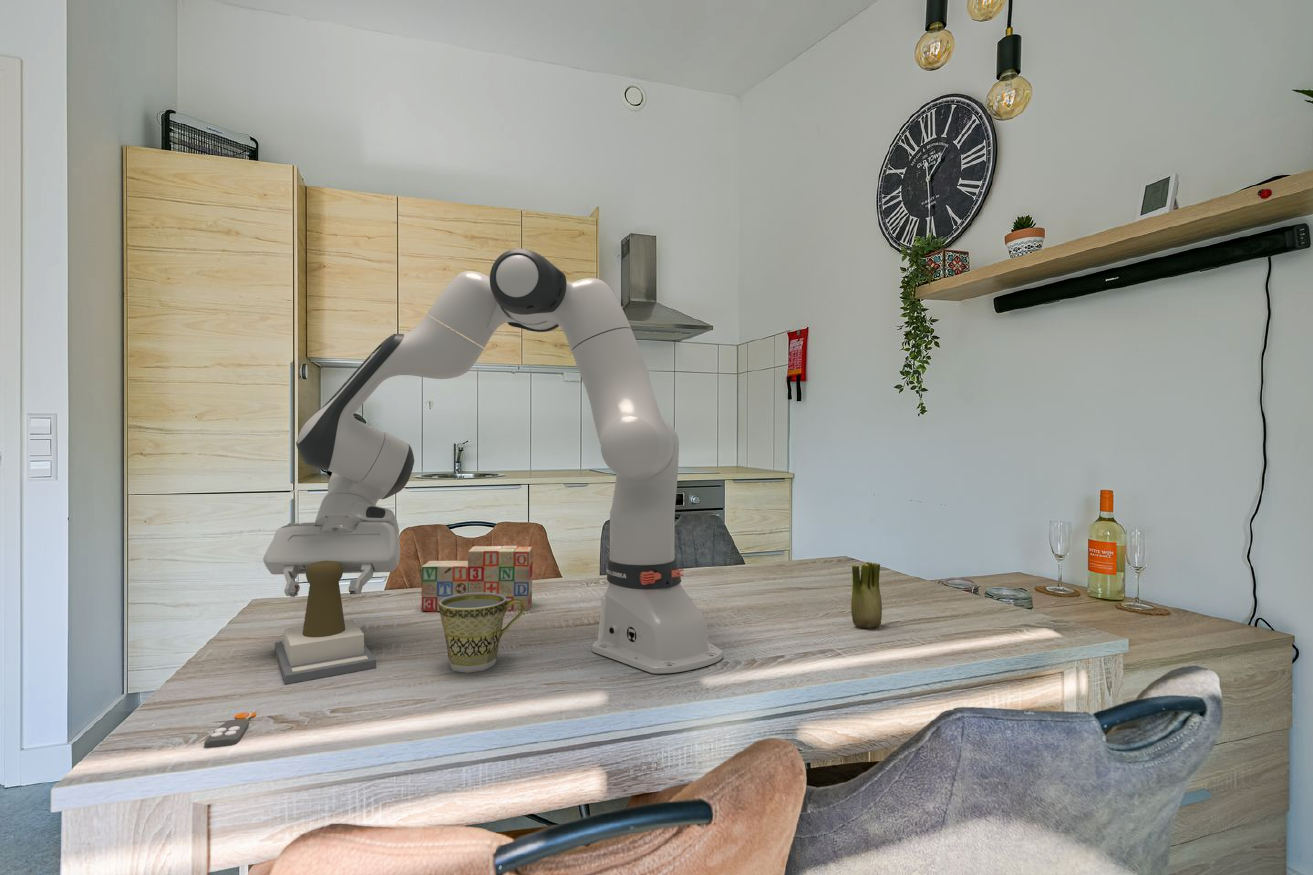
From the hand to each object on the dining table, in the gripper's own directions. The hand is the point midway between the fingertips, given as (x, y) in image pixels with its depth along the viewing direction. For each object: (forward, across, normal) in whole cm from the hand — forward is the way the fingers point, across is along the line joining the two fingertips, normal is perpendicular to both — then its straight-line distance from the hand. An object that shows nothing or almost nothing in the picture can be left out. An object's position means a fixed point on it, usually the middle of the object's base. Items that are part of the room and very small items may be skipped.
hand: (322, 593), depth 102 cm
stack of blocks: (-13, +20, +28) cm, 37 cm away
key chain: (+24, -1, -8) cm, 25 cm away
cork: (+4, 0, +5) cm, 6 cm away
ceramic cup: (+11, +25, +4) cm, 28 cm away
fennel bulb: (+2, +93, +13) cm, 94 cm away
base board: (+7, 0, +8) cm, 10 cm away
